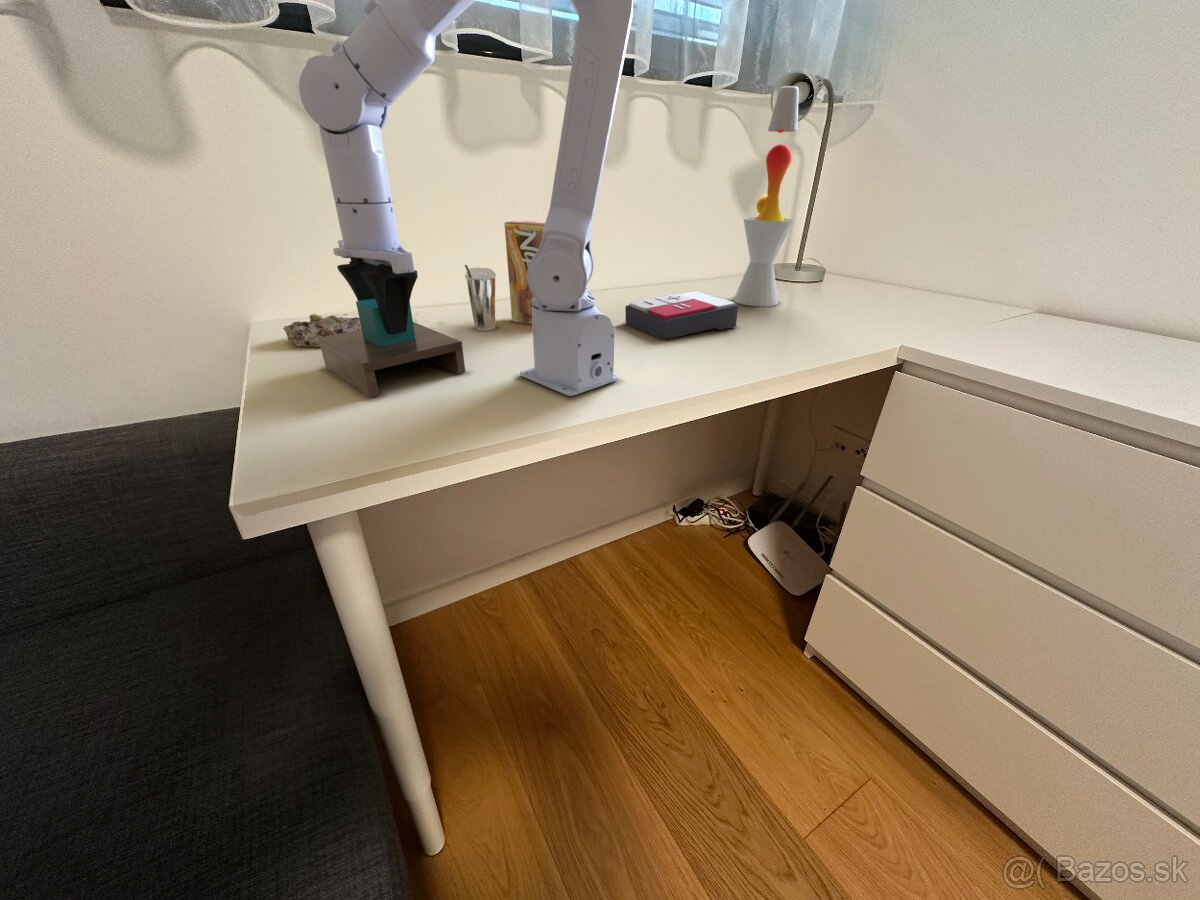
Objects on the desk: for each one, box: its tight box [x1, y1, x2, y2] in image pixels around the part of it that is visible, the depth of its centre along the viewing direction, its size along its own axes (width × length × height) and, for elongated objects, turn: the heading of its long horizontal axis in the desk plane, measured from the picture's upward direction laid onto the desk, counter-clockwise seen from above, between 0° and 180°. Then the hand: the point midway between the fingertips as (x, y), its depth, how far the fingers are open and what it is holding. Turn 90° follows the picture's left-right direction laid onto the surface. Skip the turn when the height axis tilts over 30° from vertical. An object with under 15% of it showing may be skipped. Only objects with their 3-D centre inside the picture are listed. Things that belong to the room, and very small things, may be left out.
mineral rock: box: [283, 313, 362, 348], centre depth 74 cm, size 11×4×8 cm
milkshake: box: [464, 264, 497, 332], centre depth 79 cm, size 5×5×10 cm
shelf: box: [318, 321, 466, 399], centre depth 63 cm, size 13×12×4 cm
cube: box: [355, 299, 416, 347], centre depth 61 cm, size 4×4×4 cm
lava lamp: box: [732, 85, 800, 307], centre depth 93 cm, size 9×9×35 cm
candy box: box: [503, 220, 546, 325], centre depth 81 cm, size 9×4×15 cm, turn 67°
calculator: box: [625, 290, 739, 341], centre depth 84 cm, size 11×4×15 cm
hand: (387, 328), depth 61 cm, fingers closed on cube, 4 cm apart
